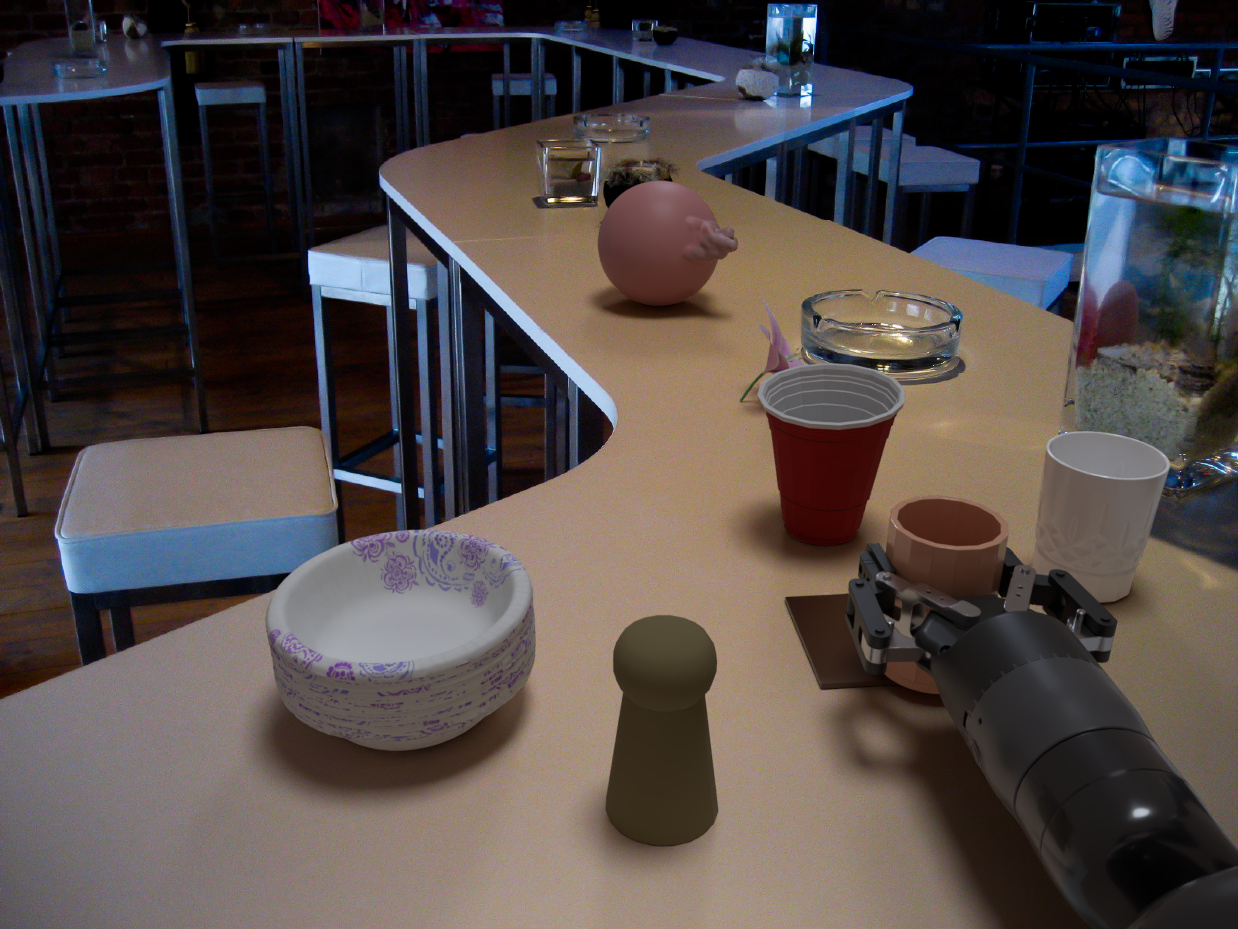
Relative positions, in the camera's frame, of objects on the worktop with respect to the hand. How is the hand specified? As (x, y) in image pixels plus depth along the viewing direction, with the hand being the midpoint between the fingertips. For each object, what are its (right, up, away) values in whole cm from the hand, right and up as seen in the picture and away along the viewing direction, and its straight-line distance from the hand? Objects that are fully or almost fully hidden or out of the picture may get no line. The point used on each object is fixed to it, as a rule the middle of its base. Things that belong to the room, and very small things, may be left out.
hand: (927, 553), depth 67 cm
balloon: (-13, +25, +71) cm, 76 cm away
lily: (-3, +12, +42) cm, 43 cm away
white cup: (+14, -3, +11) cm, 18 cm away
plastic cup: (-4, 0, +18) cm, 18 cm away
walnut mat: (0, -6, +5) cm, 8 cm away
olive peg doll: (-17, -13, -9) cm, 23 cm away
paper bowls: (-32, -9, -1) cm, 33 cm away
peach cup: (0, -7, +1) cm, 7 cm away
